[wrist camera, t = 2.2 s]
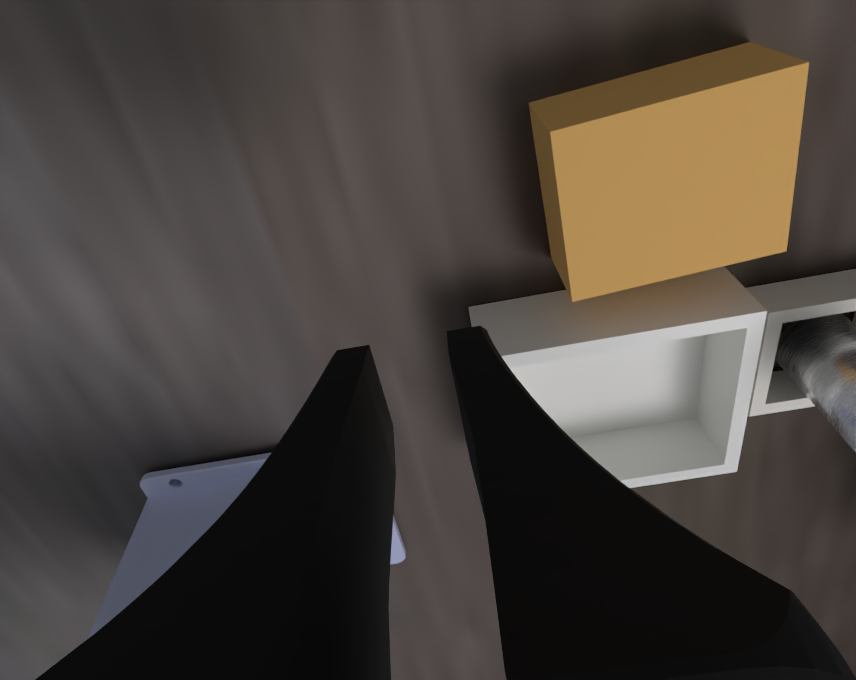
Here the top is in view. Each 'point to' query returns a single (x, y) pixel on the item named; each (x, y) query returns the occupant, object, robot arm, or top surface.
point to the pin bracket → (787, 306)
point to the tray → (640, 371)
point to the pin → (824, 367)
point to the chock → (670, 168)
